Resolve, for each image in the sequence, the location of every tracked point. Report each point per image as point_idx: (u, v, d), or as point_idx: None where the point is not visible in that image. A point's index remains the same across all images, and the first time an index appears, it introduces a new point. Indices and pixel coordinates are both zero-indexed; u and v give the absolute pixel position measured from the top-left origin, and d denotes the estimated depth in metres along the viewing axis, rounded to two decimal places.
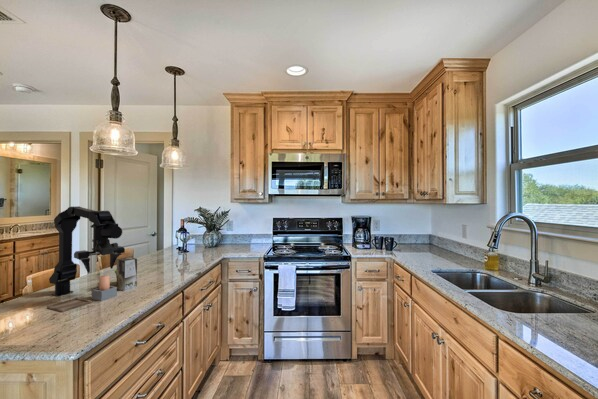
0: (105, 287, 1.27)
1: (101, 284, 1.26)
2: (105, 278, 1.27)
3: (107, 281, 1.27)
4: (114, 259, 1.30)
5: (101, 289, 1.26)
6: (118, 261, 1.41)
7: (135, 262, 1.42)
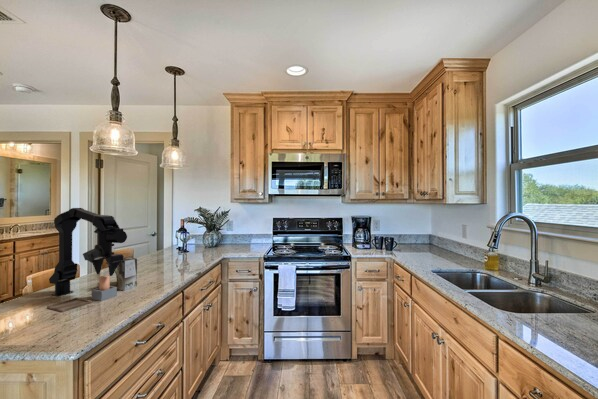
0: (105, 287, 1.27)
1: (101, 284, 1.26)
2: (105, 278, 1.27)
3: (107, 281, 1.27)
4: (109, 267, 1.25)
5: (101, 289, 1.26)
6: None
7: (135, 262, 1.42)
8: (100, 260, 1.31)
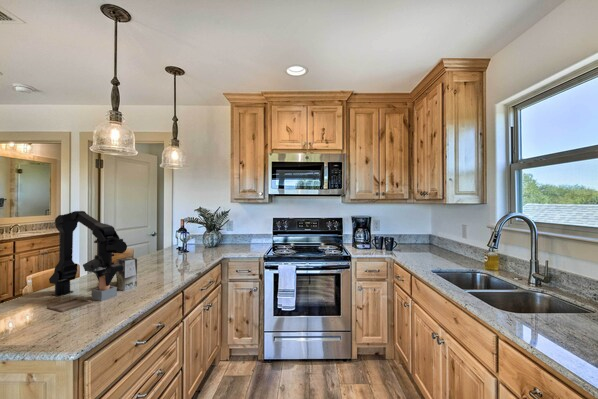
0: (105, 287, 1.27)
1: (101, 284, 1.26)
2: None
3: None
4: (105, 277, 1.26)
5: (101, 289, 1.26)
6: (118, 261, 1.41)
7: (135, 262, 1.42)
8: (103, 271, 1.30)
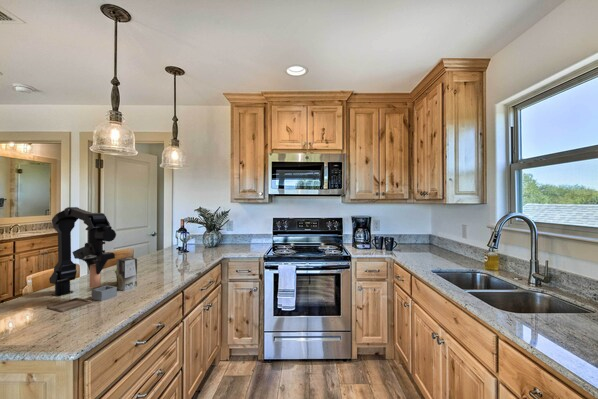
0: (96, 276, 1.24)
1: (91, 272, 1.23)
2: None
3: None
4: (96, 265, 1.23)
5: (91, 277, 1.23)
6: (118, 261, 1.41)
7: (135, 262, 1.42)
8: (94, 259, 1.27)
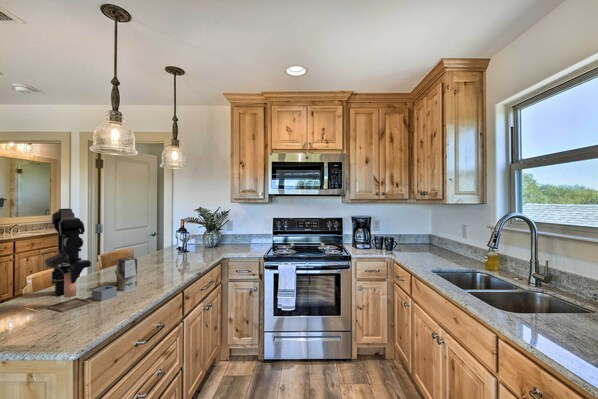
0: (70, 285, 1.17)
1: (66, 281, 1.17)
2: (70, 275, 1.17)
3: None
4: (70, 273, 1.16)
5: (66, 287, 1.16)
6: (118, 261, 1.41)
7: (135, 262, 1.42)
8: (70, 267, 1.21)
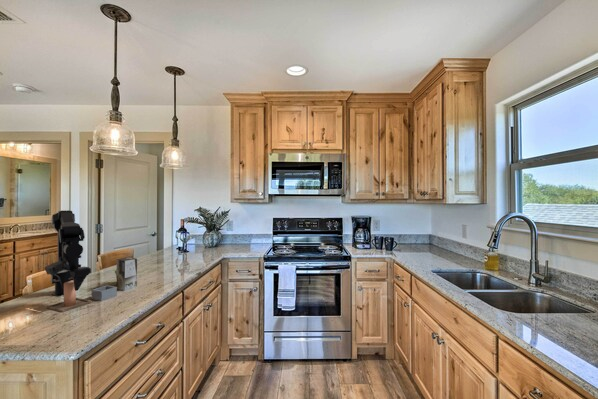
0: (70, 294, 1.17)
1: (65, 290, 1.16)
2: (70, 284, 1.17)
3: (72, 287, 1.18)
4: (74, 281, 1.15)
5: (66, 296, 1.16)
6: (118, 261, 1.41)
7: (135, 262, 1.42)
8: (66, 273, 1.21)
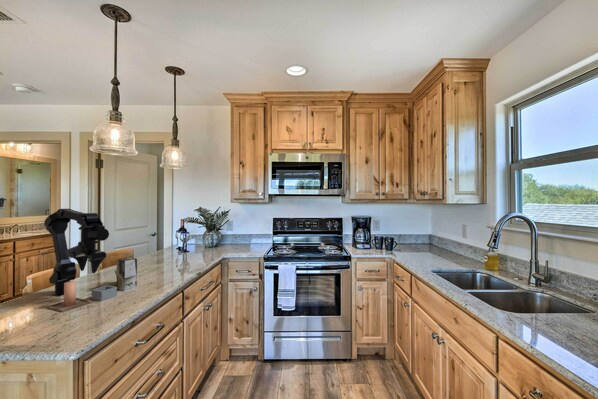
0: (70, 294, 1.17)
1: (66, 290, 1.16)
2: (70, 284, 1.17)
3: (73, 287, 1.18)
4: (91, 264, 1.25)
5: (66, 296, 1.16)
6: (118, 261, 1.41)
7: (135, 262, 1.42)
8: (84, 257, 1.32)
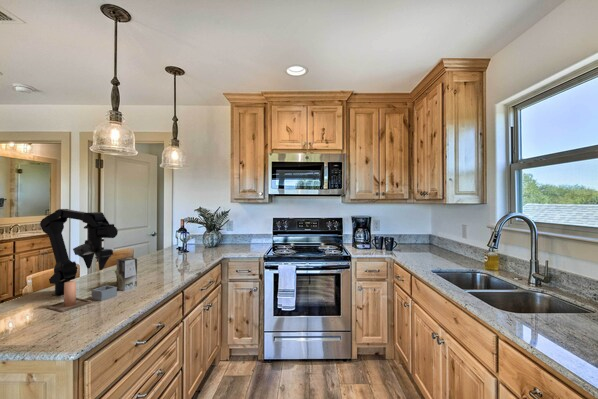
0: (70, 294, 1.17)
1: (66, 290, 1.17)
2: (70, 284, 1.17)
3: (73, 287, 1.18)
4: (98, 261, 1.29)
5: (66, 296, 1.16)
6: (118, 261, 1.41)
7: (135, 262, 1.42)
8: (90, 255, 1.35)
